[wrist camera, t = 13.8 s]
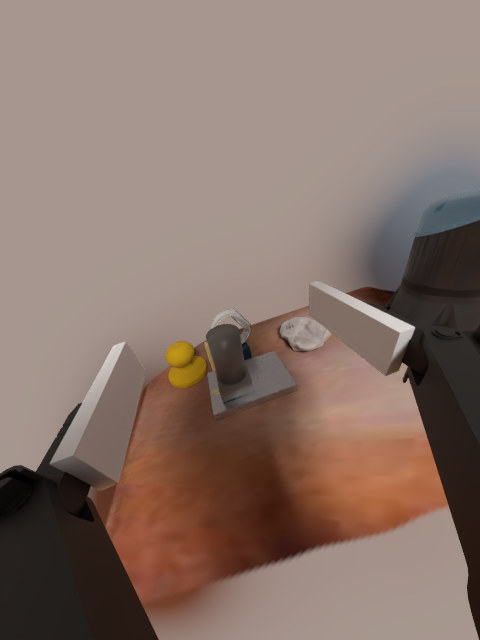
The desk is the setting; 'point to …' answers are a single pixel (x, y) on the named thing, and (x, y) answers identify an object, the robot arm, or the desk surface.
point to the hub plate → (254, 385)
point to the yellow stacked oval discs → (184, 365)
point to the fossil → (304, 333)
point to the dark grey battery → (228, 361)
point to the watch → (242, 322)
